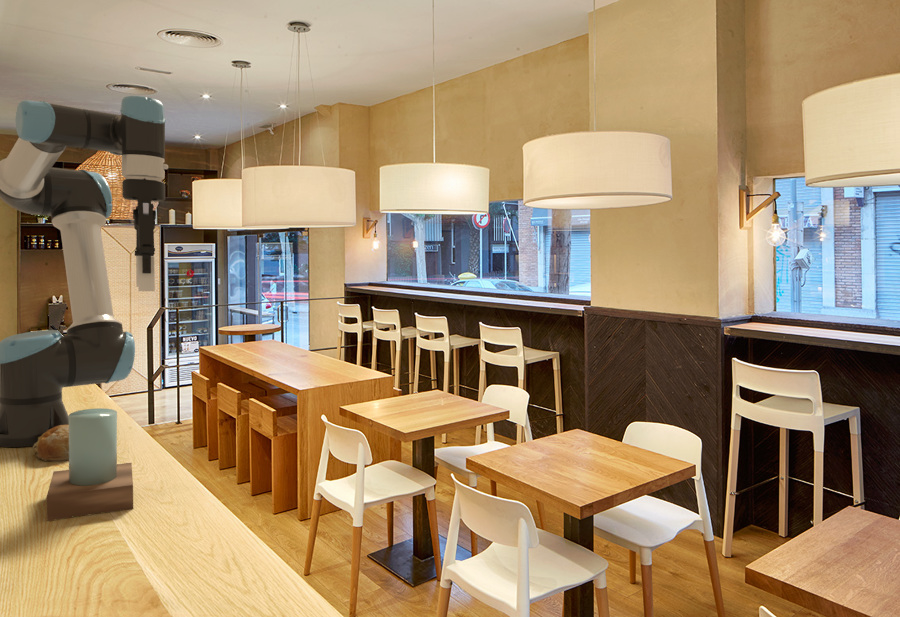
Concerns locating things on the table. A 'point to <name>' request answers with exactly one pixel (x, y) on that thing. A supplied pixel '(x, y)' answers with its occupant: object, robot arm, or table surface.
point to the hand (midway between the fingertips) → (145, 289)
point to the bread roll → (54, 444)
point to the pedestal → (89, 495)
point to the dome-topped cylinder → (92, 446)
